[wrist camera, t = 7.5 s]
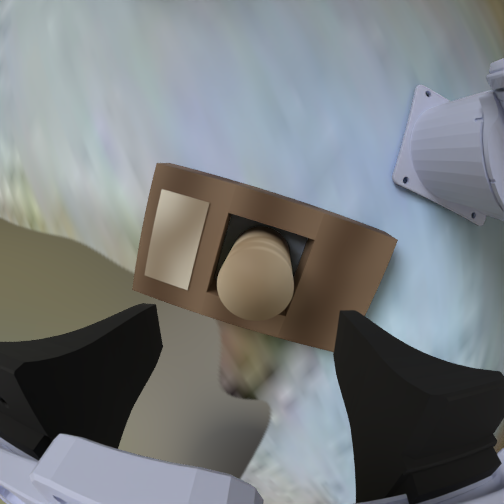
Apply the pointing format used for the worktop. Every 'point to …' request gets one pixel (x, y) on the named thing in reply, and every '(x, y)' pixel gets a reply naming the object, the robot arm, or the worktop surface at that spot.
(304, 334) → the hole plate
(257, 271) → the peg
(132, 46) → the worktop surface
